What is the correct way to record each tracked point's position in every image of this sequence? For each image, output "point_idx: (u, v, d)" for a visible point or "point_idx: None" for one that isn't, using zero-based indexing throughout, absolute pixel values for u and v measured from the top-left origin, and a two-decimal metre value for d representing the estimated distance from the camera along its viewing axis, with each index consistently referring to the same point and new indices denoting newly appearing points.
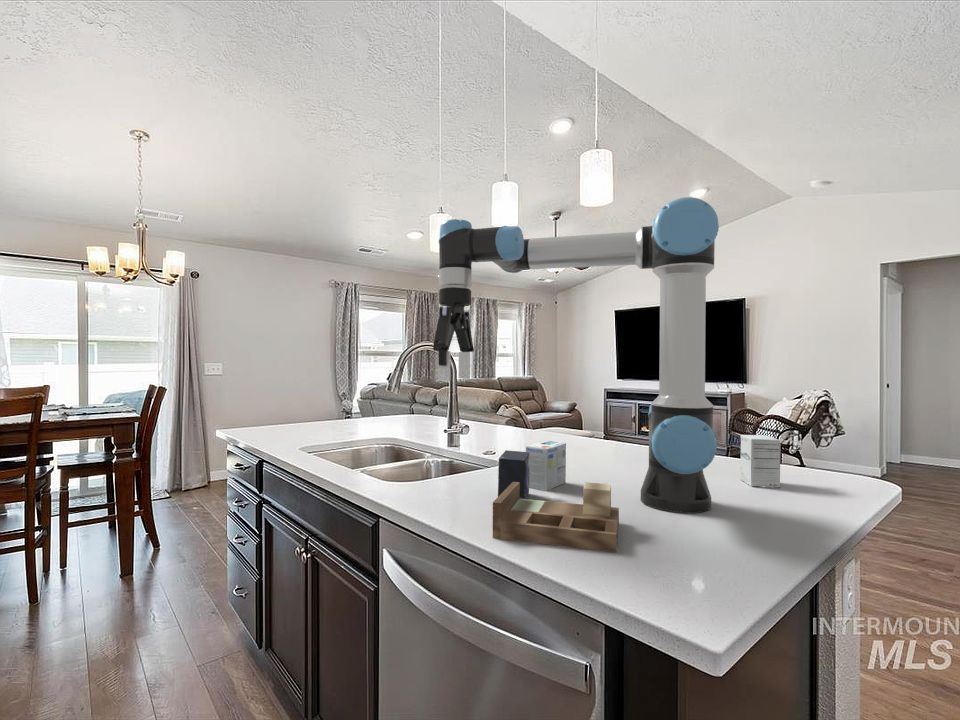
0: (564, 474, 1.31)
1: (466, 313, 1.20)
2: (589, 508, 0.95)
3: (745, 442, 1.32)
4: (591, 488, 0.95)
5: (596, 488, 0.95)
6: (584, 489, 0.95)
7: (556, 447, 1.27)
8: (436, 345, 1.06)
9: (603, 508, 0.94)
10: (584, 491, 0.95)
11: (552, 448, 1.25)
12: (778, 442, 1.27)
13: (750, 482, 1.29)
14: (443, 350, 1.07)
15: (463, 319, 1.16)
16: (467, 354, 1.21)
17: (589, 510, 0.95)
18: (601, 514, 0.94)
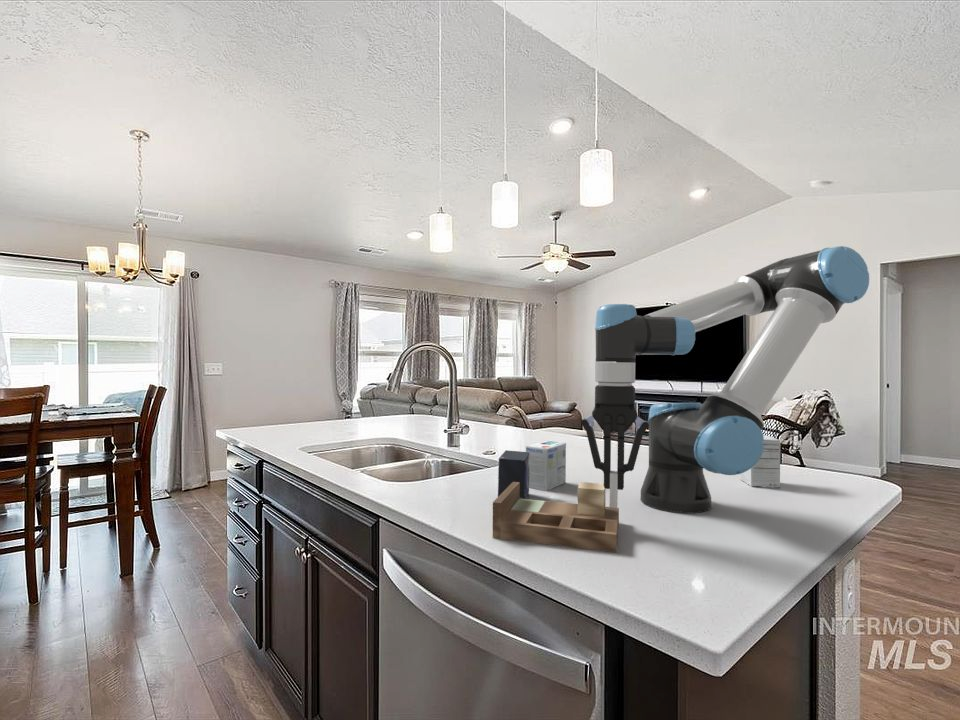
0: (564, 474, 1.31)
1: (643, 422, 0.94)
2: (584, 508, 0.95)
3: None
4: (585, 488, 0.96)
5: (590, 488, 0.96)
6: (578, 489, 0.96)
7: (556, 447, 1.27)
8: None
9: (597, 507, 0.95)
10: (578, 491, 0.96)
11: (552, 448, 1.25)
12: (778, 442, 1.27)
13: (750, 482, 1.29)
14: (603, 471, 0.96)
15: (618, 421, 0.94)
16: None
17: (583, 510, 0.95)
18: (595, 513, 0.95)
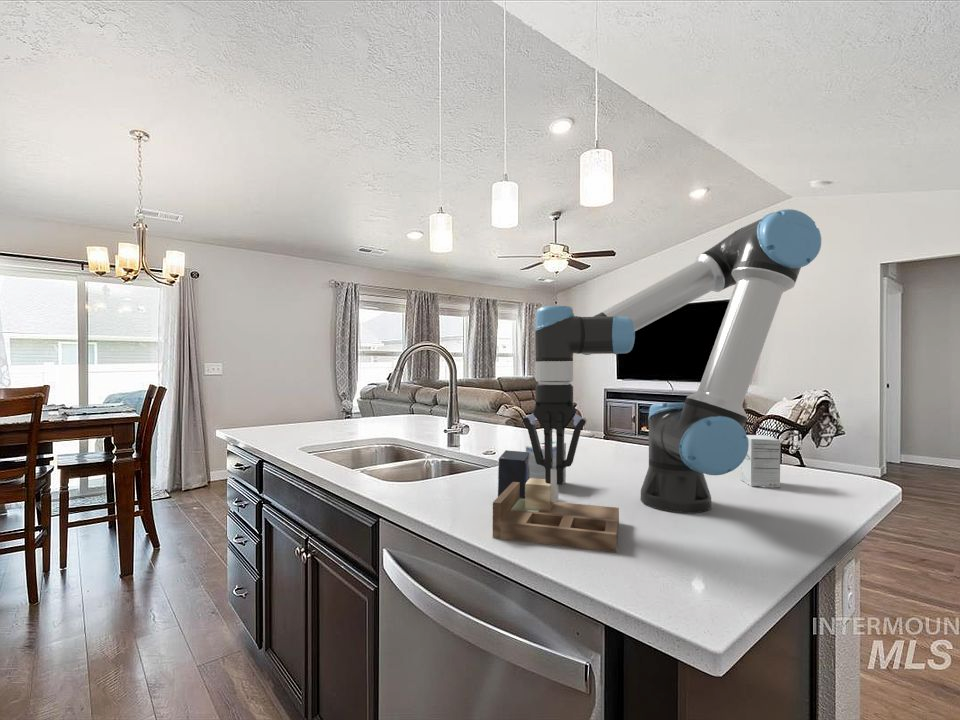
0: (564, 474, 1.31)
1: (580, 420, 0.97)
2: (531, 503, 0.98)
3: None
4: (533, 483, 0.99)
5: (537, 483, 0.99)
6: (526, 484, 0.99)
7: None
8: None
9: (544, 502, 0.98)
10: (526, 486, 0.99)
11: (552, 448, 1.25)
12: (778, 442, 1.27)
13: (750, 482, 1.29)
14: None
15: None
16: None
17: (530, 505, 0.98)
18: (542, 508, 0.98)
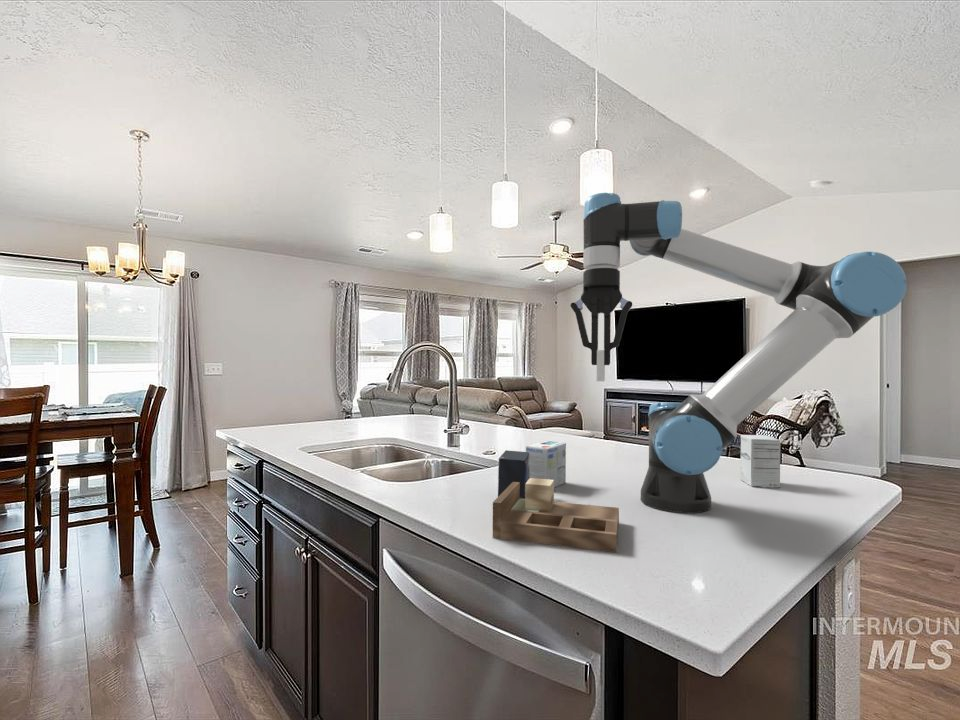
0: (564, 474, 1.31)
1: (627, 302, 1.02)
2: (531, 503, 0.98)
3: (745, 442, 1.32)
4: (533, 483, 0.99)
5: (538, 483, 0.99)
6: (526, 484, 0.99)
7: (556, 447, 1.27)
8: None
9: (544, 502, 0.98)
10: (526, 486, 0.99)
11: (552, 448, 1.25)
12: (778, 442, 1.27)
13: (750, 482, 1.29)
14: None
15: (604, 301, 1.03)
16: None
17: (530, 505, 0.98)
18: (542, 508, 0.98)
